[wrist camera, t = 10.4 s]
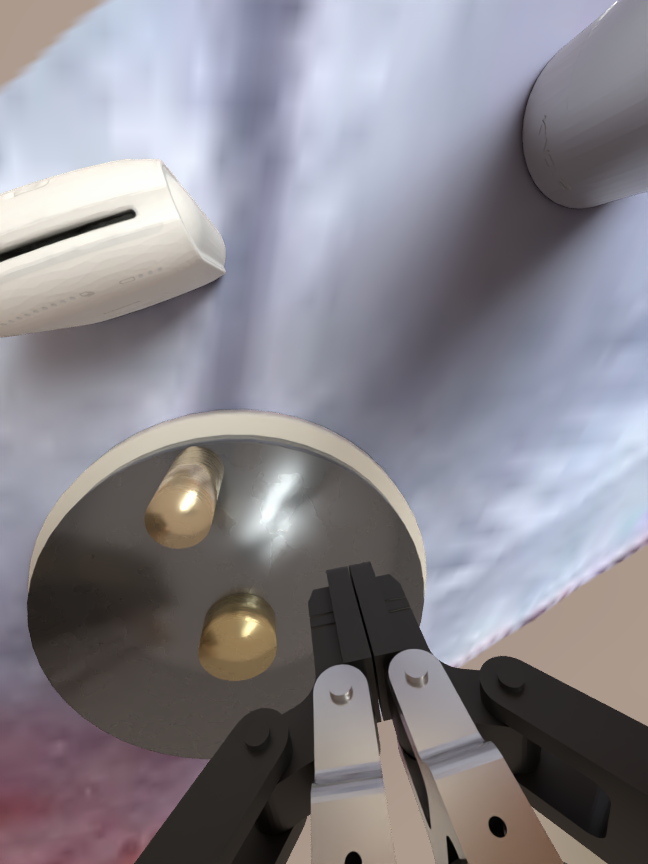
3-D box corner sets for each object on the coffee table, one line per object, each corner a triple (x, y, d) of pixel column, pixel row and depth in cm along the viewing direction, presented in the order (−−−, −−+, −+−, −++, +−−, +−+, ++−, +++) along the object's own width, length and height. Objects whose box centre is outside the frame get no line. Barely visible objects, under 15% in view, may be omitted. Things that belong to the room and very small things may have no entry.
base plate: (289, 324, 26) (291, 326, 24) (472, 602, 36) (484, 619, 34) (-52, 561, 28) (-75, 579, 26) (211, 765, 38) (208, 789, 36)
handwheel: (-29, 478, 24) (-153, 553, 17) (402, 401, 26) (453, 438, 19) (112, 771, 33) (70, 901, 26) (426, 694, 35) (467, 795, 28)
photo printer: (81, 333, 25) (-82, 363, 13) (42, 262, 23) (-178, 224, 12) (237, 277, 25) (214, 259, 13) (209, 203, 24) (155, 111, 12)
